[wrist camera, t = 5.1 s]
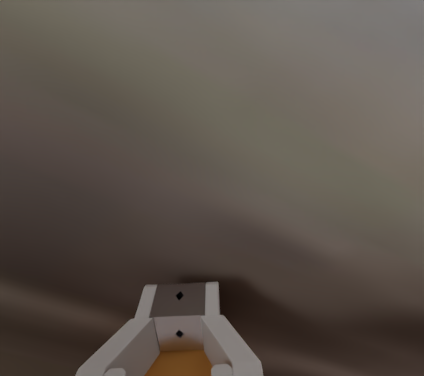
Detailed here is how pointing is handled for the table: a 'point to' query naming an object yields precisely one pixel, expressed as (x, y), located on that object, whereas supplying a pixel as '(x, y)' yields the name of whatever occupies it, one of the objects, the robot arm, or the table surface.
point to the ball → (181, 364)
